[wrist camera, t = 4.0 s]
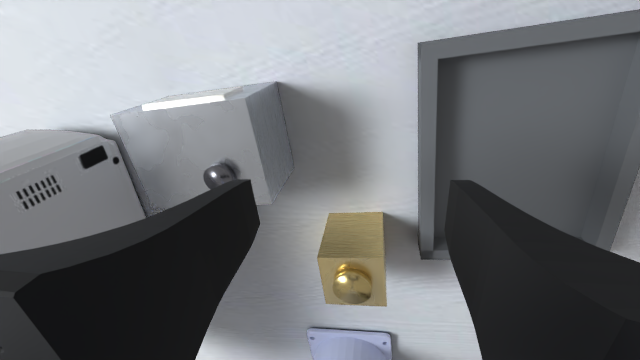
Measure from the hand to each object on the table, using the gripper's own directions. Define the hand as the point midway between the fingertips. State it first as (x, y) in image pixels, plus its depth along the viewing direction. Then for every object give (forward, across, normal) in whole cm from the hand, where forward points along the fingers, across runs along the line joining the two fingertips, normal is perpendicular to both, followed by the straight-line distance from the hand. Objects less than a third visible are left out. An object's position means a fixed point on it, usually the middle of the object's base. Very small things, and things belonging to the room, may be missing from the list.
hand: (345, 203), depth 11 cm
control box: (+9, +9, 0) cm, 13 cm away
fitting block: (+9, 0, +8) cm, 13 cm away
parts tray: (+9, -9, +2) cm, 13 cm away
